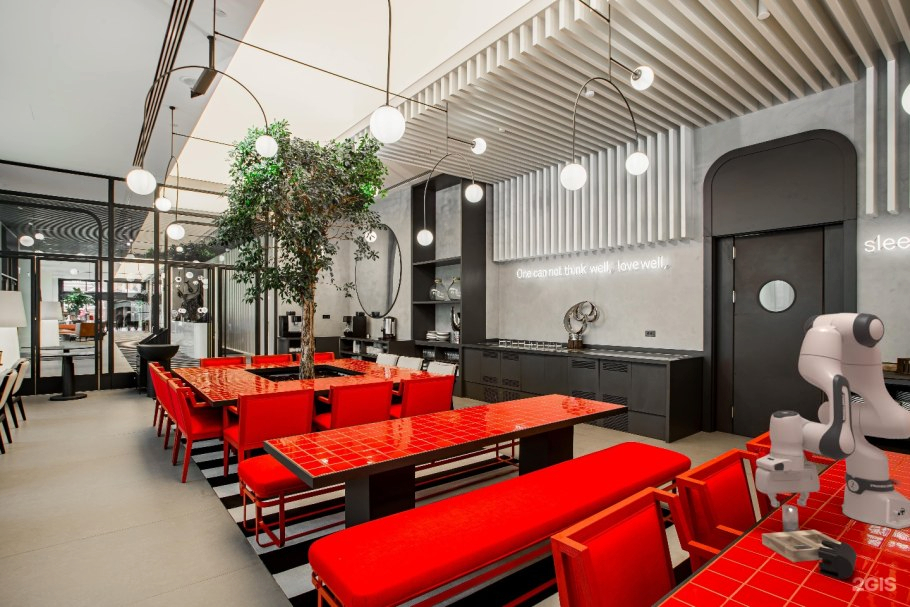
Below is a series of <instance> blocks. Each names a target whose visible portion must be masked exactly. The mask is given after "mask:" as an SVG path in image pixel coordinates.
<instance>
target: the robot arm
mask: <svg viewBox="0 0 910 607" xmlns="http://www.w3.org/2000/svg"><path fill="white" fill-rule="evenodd" d="M803 329H804V334H805V335H804V336H805V337H804V339H803V341H802V344H801V347H800V352H799V357H798V363H797V364H798V365H797V366H798V367H797V368H798V372H799V374H800V376H802V378H803V379H804V380H805V381H806V382H808V383H809V384H811V385H812V386H815V387H816V388H819V389H820V390H821V391H823V392H824V393H825V394H826V395H827V399H828V401H825V402H823V403H822V404H821V405H820V406H819V409H818V412H817V417H818V420H819V421H820V422H816V421H812V420H811V421H810V420H808V419H806V418H804V417H802V416H801V415H800V414H799V412H797V411H794V410H778V411H775V412H773V413H772V414H771V416H770V419H769V420H770V421H769V422H770V423H769V440H770V441H771V446H770V450H769V453H768V454H766V455H765V456H762V457H760V458H757V459H756V461H755V462H756V466H757V468H756V470H755V488H756V490H757V491H759V492H760V493H762V494H766V495H767V496H768V498H769V500H770V505H771V506H772V507H773V508H780V507H781V506H780V501H778V500H777V498H776V497H777V494H795V493H796V494H798V493H799V495H800V496H799V498H797V499H796V501H797V503H796V504H797V505H798V506H800V507H806V506H807V500H808V498H809V497H810V493H815V492H816V493H817V492H819V491H820V488H821V487H820V485H821V484H820V477H819V474H818V470H817V466H816V465H815V463H814V462H813V461H805V458H804V457H805V455H804V451H807V452H809V453H812V454H813V453H814V454H818V455H821V456H822V455H823V457H826V458H829V459H832V460H836V461H842V460H845V467H846V468H845V469H846V471H845V472H844V480H845V484H846V485H845V487H844V495H843V496H844V497H843V498H844V499H843V503H842V504H841V508H842V512H841V513H842V514H843V515H845V516H847V517H848V518H851V519H853V520H856V521H859V522H862V523H866V524H871V525H876V526H882V527H888V528H892V529H897V530H899V529H900V530H901V529H904V528H909V527H910V499H909V498H907V497H906V496H904V495H903V494H901V493H900V492H898V491H897V490H896V489H895V486H896V487H900V486H901V484H902V481H901V480H900V479H896V478H893V477H892V478H890V470H889V469H890V468H889V458H888V455H887V454H886V453H885V452H884V451H883V450H882V449H880V448H878V447H877V446H874V445H873V444H871V443H869V441H868V440H867V439H866V438H865V436H869V437H875V438H884V439H889V440H890V439H891V440H892V439H893V440H895V439H897V440H899V439H900V440H901V439H902V440H903V439H909V438H910V411H909V410H908V409H906V408H904V407H903V406H901V405H900V404H899V403H898V402H897V401H896V400H894V399H893V397H892V396H891V395H890V393H889V391H888V389H887V388H886V385H885V380H884V372H883V359H882V353H881V348H880V345H879V342H880V341H882V339H883V338H884V334H885V326H884V323H883V321H882V320H881V318H879V317H878V316H877V315H875V314H871V313H866V312H865V313H864V312H862V313H856V312H855V313H853V312H839V313H830V314H829V313H828V314H815V315H813V316H810V317H809V318H808V319H807V320H806V322H805V323H804V327H803ZM851 392H852V393H855V394H857V395H858V396H860V397H861V399H862V400H863V402H855V401H852V395H851V394H852V393H851Z"/></svg>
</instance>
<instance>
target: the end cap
mask: <svg viewBox="0 0 910 607" xmlns="http://www.w3.org/2000/svg"><path fill="white" fill-rule="evenodd" d="M822 545H823V546H824V547H828V548H832V549H827V548H823V547H819V550H818V557H819V558H823V559H822V562H821V561H818V569H819V574H820V575H823V576H827V577H831V578H833V579H837V580H844V579H847V578H850V577H851V576H852V575H853V573H854V571H855V570H854V569H855V566H856V563H857V558H858V555H857V552H856V551H855V549H854V548H853V547H852V546H851V545H850V543H846V542H845V541H841V544H837V543H833V542H829V541H825V540H823V541H822Z"/></svg>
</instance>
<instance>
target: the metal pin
mask: <svg viewBox="0 0 910 607" xmlns="http://www.w3.org/2000/svg"><path fill="white" fill-rule="evenodd" d="M781 509H782V530H783V531H782V532H792V531H800V530H799V513H798V512H799V511H798V507H797V506H794V505H790V504H782V506H781Z"/></svg>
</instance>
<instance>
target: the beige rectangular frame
mask: <svg viewBox="0 0 910 607" xmlns="http://www.w3.org/2000/svg"><path fill="white" fill-rule="evenodd" d="M761 538H762V539H761V540H762V545H764V546H765V547H767V548H768V549H770V550H772V551H774V552H775V553H777V554H778V555H781V556H782V557H784V558H786V559H788V560H789V561H791V562H792V563H797V562H810V561H821V560H822V559H823V558H819V557H818V550H819V547H823V548H827V549H832V548H828V547H824V546H823V545H822V541H823V540H825V541H829V542H833V543H837V544H841V542H840V541H838V540H836V539H834V538H832V537H830V536H828V535H826V534H824V533H822V532H820V531H818V530H816V529H808V530H799V531H792V532H784V531H781V532H780V531H779V532H770V533H769V532H768V533H761Z"/></svg>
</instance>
